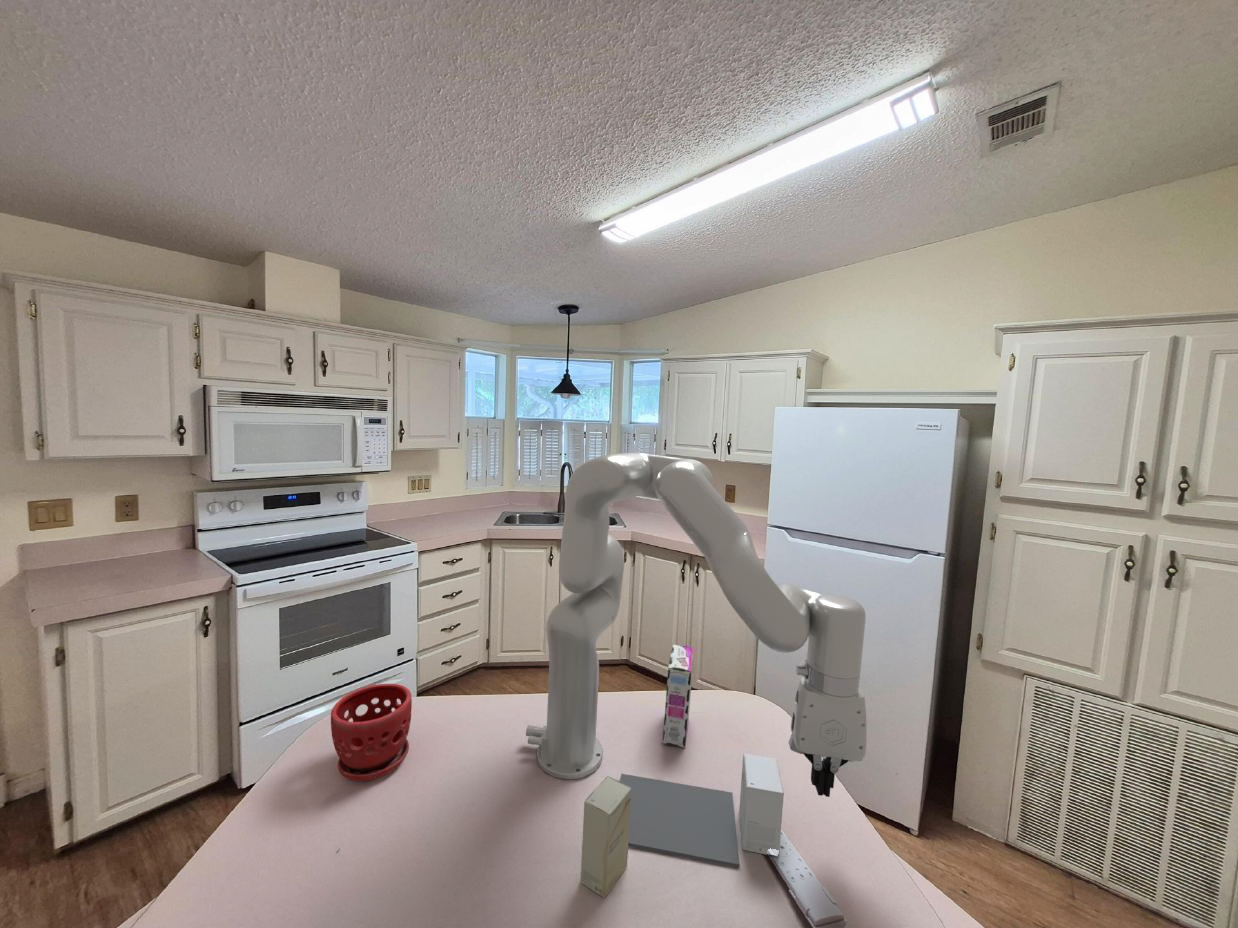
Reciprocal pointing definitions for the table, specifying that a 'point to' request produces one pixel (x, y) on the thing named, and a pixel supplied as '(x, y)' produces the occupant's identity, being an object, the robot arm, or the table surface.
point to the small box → (760, 804)
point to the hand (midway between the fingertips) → (821, 789)
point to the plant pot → (371, 731)
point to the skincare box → (605, 835)
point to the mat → (682, 820)
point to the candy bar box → (678, 696)
